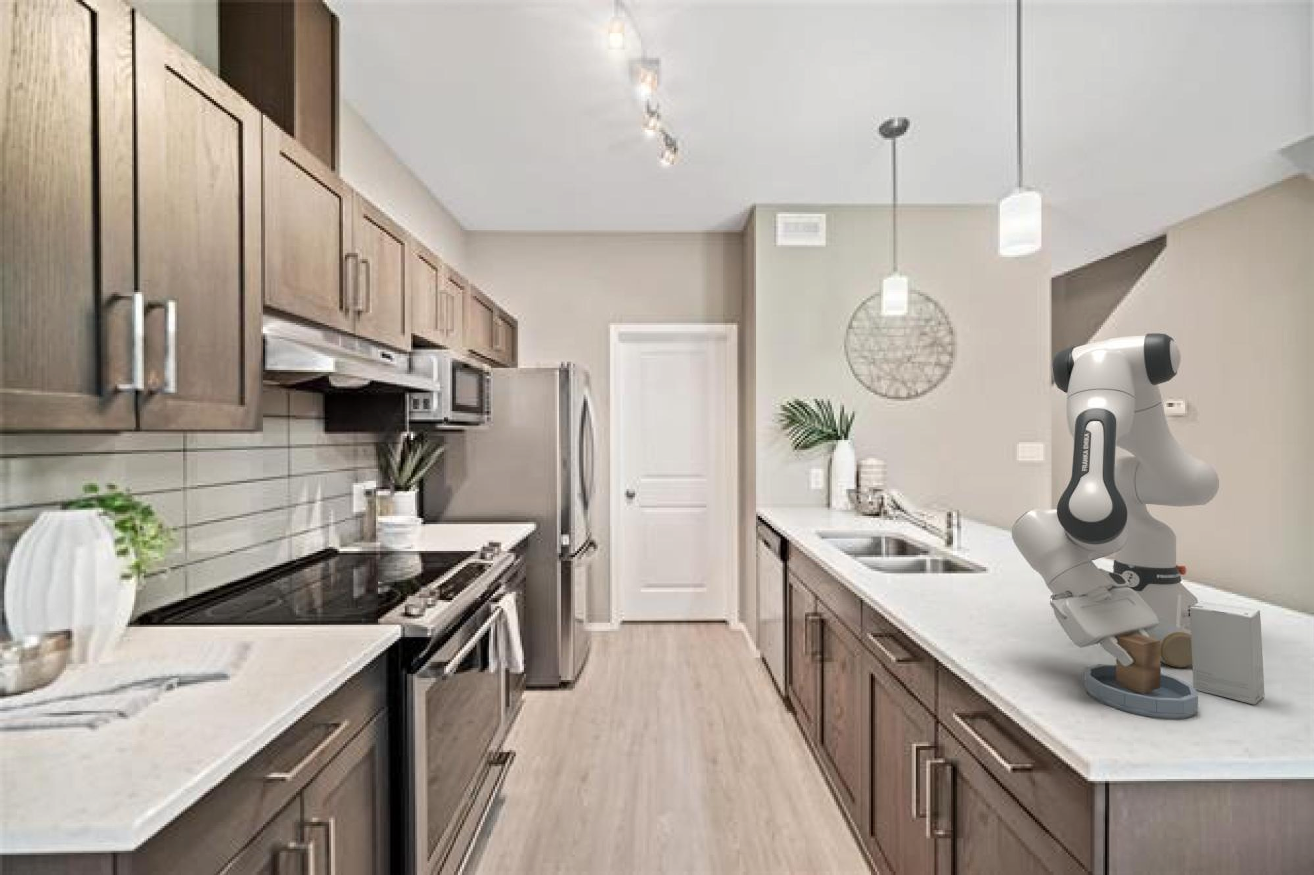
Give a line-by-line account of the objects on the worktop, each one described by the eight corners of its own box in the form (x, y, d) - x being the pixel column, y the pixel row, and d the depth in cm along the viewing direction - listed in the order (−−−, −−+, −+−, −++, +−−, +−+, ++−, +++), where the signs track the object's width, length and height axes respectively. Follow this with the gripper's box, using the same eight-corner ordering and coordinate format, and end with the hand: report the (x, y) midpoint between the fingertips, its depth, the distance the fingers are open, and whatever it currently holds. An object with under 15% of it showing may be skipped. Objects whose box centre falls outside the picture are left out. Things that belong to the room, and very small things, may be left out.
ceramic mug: (1161, 669, 117) (1162, 628, 117) (1132, 653, 125) (1133, 615, 125) (1222, 671, 116) (1223, 631, 116) (1188, 656, 124) (1189, 617, 124)
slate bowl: (1117, 675, 114) (1117, 659, 114) (1216, 708, 101) (1216, 689, 100) (1065, 689, 108) (1065, 672, 108) (1163, 726, 94) (1163, 707, 94)
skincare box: (1264, 697, 104) (1265, 610, 104) (1253, 706, 101) (1254, 616, 101) (1200, 681, 111) (1201, 599, 111) (1188, 689, 108) (1189, 604, 108)
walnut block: (1133, 679, 107) (1134, 633, 107) (1160, 687, 103) (1160, 640, 103) (1116, 684, 105) (1116, 637, 105) (1142, 693, 101) (1143, 644, 101)
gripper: (1057, 586, 106) (1119, 662, 97) (1129, 574, 114) (1192, 643, 106) (1032, 605, 110) (1089, 680, 101) (1103, 592, 119) (1161, 660, 110)
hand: (1142, 661), depth 104 cm, fingers closed on walnut block, 5 cm apart
